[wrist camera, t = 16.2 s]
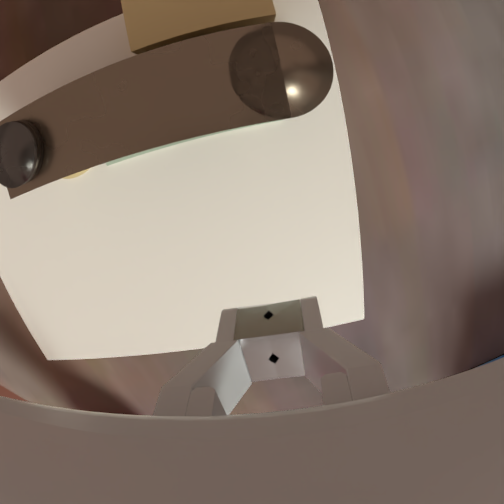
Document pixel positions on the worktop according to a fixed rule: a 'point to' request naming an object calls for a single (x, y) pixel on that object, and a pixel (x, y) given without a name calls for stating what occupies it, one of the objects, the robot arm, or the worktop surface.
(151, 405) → the worktop surface
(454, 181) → the worktop surface
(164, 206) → the latch board
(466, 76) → the worktop surface
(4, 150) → the bar
